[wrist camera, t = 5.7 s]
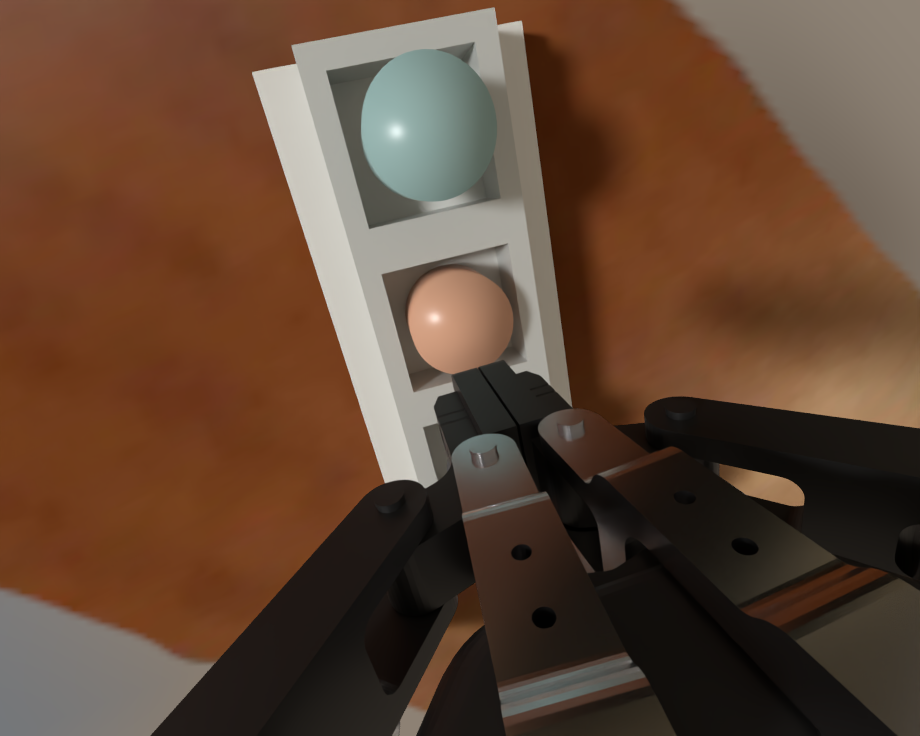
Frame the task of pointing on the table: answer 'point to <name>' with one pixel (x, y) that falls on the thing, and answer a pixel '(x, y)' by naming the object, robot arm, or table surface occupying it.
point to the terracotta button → (458, 318)
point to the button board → (414, 223)
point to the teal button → (428, 126)
